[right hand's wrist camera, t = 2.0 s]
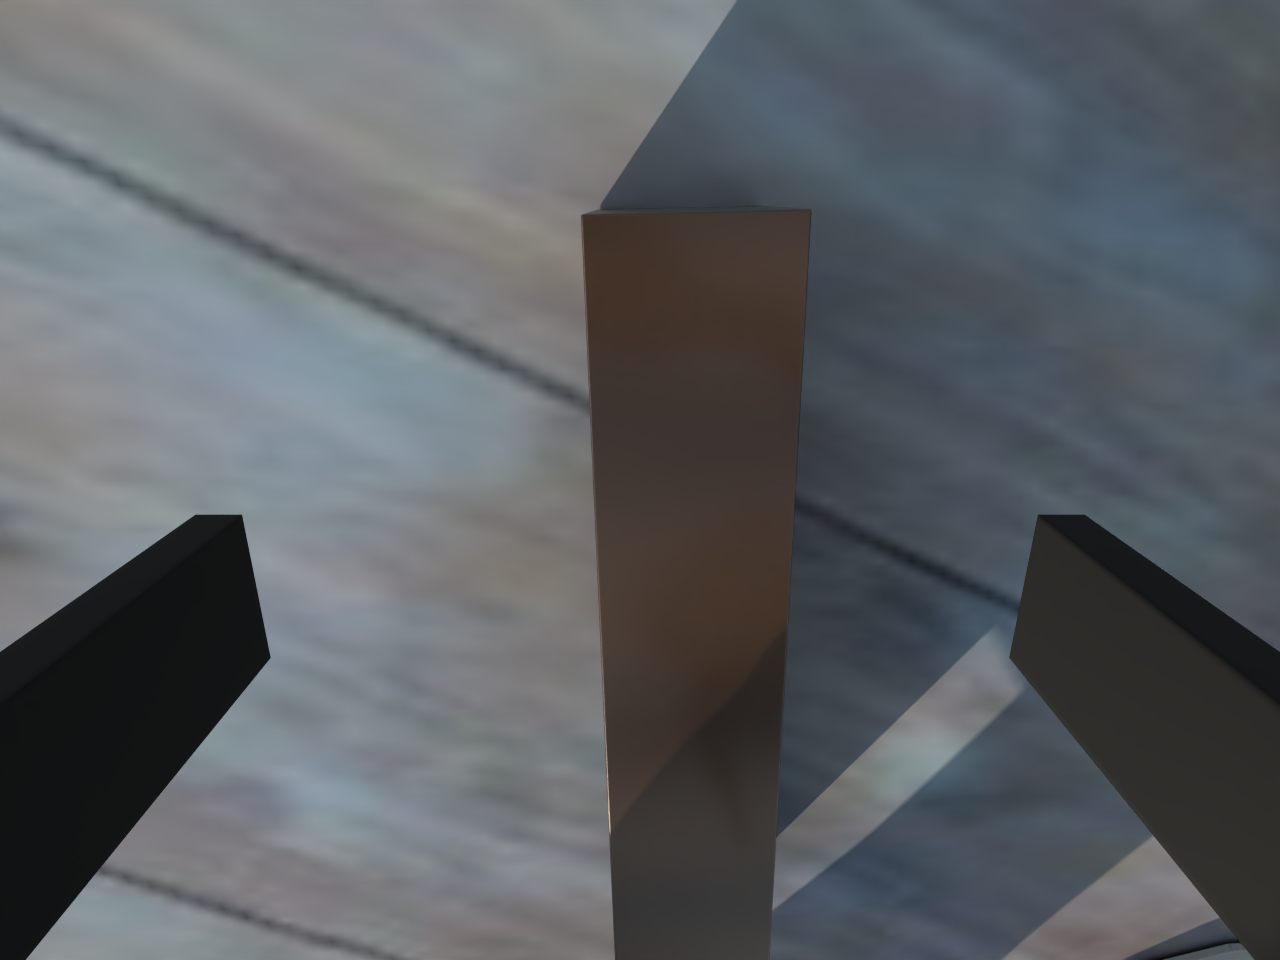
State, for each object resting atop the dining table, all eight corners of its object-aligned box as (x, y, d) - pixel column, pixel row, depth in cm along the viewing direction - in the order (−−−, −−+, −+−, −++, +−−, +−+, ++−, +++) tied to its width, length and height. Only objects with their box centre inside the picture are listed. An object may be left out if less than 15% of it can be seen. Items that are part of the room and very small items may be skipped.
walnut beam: (596, 209, 27) (581, 214, 19) (763, 206, 27) (812, 209, 19) (622, 876, 38) (618, 1042, 31) (739, 874, 38) (765, 1039, 31)
